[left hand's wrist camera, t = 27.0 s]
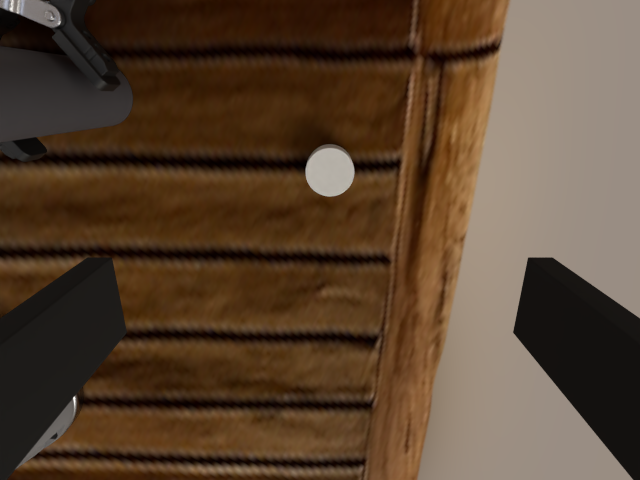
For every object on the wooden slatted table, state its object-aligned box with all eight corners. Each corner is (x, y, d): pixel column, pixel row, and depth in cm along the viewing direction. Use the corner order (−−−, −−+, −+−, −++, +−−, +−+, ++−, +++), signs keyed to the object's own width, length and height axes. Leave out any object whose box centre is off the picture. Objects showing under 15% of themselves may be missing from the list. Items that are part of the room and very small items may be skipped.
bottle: (119, 53, 30) (-238, -14, 11) (142, 119, 32) (-136, 158, 13) (60, 67, 31) (-381, 25, 12) (85, 131, 33) (-264, 186, 13)
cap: (320, 135, 32) (320, 138, 30) (361, 158, 33) (363, 163, 31) (299, 176, 34) (296, 181, 31) (338, 197, 34) (338, 204, 32)
